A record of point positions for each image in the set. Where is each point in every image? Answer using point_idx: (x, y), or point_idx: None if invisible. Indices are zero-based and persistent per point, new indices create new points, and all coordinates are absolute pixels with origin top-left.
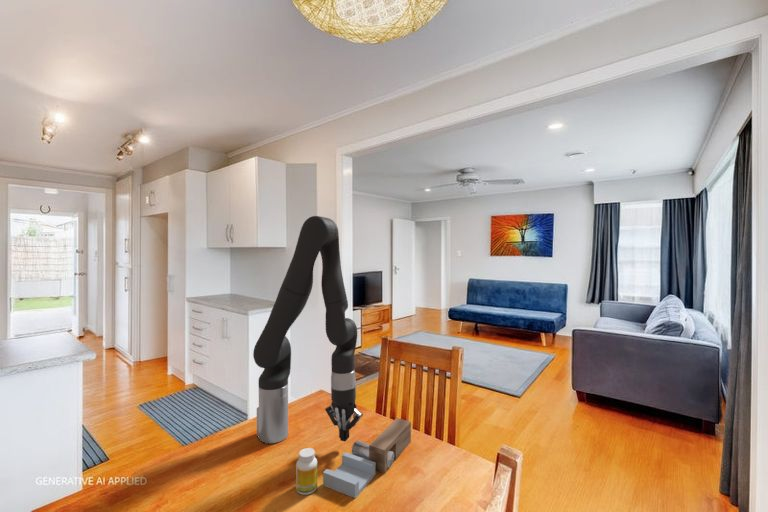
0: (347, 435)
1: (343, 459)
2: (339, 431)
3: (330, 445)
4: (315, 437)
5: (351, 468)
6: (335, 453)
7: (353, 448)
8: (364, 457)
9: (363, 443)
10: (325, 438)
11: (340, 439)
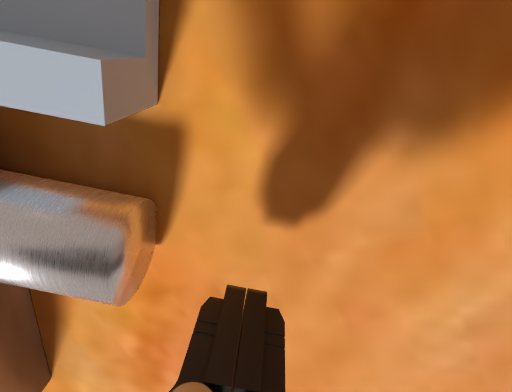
0: (193, 334)
1: (106, 54)
2: (280, 366)
3: (359, 268)
4: (499, 320)
5: (35, 18)
6: (288, 200)
7: (107, 221)
8: (29, 178)
9: (28, 275)
10: (421, 322)
11: (265, 296)
